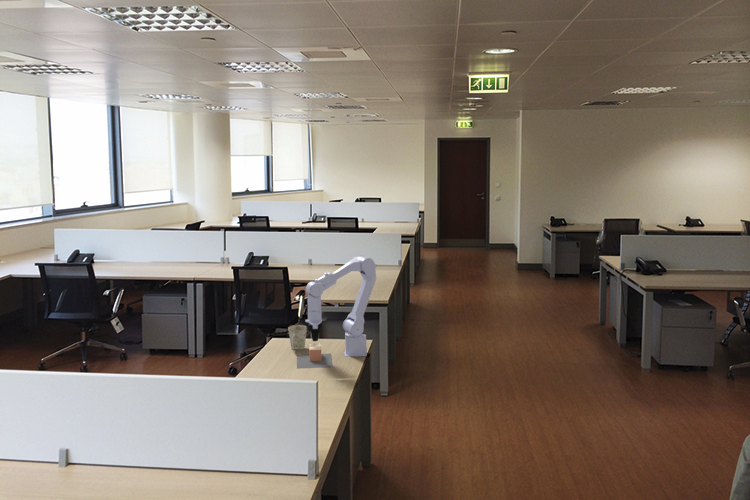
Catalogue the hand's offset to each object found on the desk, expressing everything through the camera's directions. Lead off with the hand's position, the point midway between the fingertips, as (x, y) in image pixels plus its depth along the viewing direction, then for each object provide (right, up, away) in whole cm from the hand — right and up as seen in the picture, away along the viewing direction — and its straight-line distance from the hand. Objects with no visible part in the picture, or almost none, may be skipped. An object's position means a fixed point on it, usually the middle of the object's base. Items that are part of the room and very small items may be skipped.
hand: (315, 340), depth 276 cm
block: (0, -6, -2) cm, 6 cm away
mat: (0, -9, -1) cm, 9 cm away
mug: (-10, -7, +16) cm, 20 cm away
